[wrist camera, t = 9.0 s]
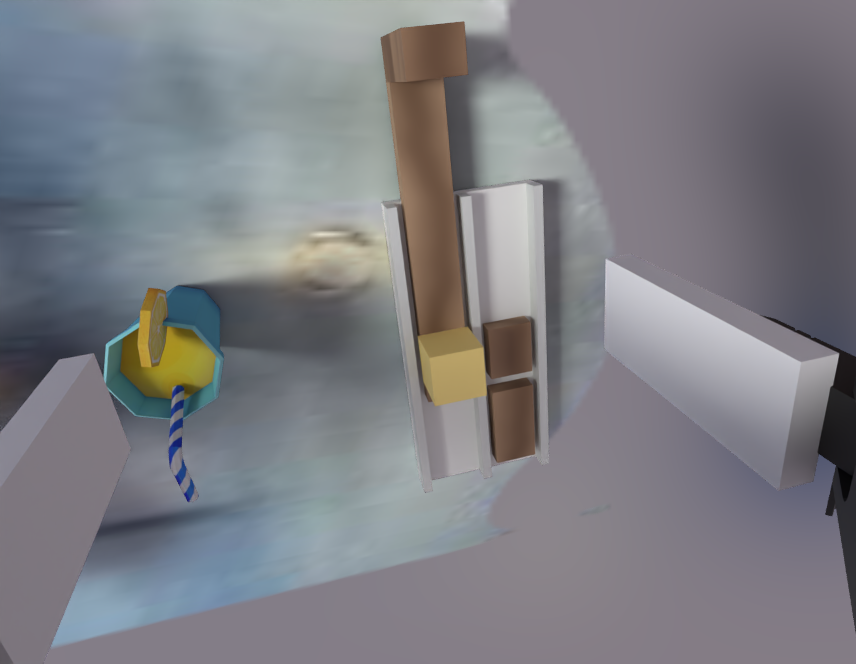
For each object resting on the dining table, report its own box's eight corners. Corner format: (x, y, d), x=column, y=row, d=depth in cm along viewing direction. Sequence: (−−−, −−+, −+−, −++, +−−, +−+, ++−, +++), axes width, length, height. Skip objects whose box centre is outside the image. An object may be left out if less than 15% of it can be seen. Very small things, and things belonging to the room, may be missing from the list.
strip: (424, 394, 55) (446, 440, 47) (380, 37, 42) (400, 28, 35) (465, 385, 55) (492, 430, 48) (433, 31, 43) (464, 21, 36)
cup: (259, 387, 52) (251, 492, 38) (169, 407, 51) (128, 523, 37) (214, 235, 46) (186, 297, 33) (111, 254, 45) (39, 326, 32)
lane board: (418, 475, 60) (424, 492, 57) (381, 202, 48) (386, 208, 46) (538, 447, 62) (549, 463, 59) (529, 179, 50) (542, 184, 48)
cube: (423, 381, 52) (435, 406, 48) (417, 336, 50) (429, 358, 46) (471, 371, 53) (486, 395, 49) (467, 326, 51) (483, 347, 47)
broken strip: (492, 454, 59) (497, 463, 58) (482, 323, 53) (488, 330, 52) (529, 445, 60) (535, 454, 58) (524, 315, 54) (530, 321, 52)
